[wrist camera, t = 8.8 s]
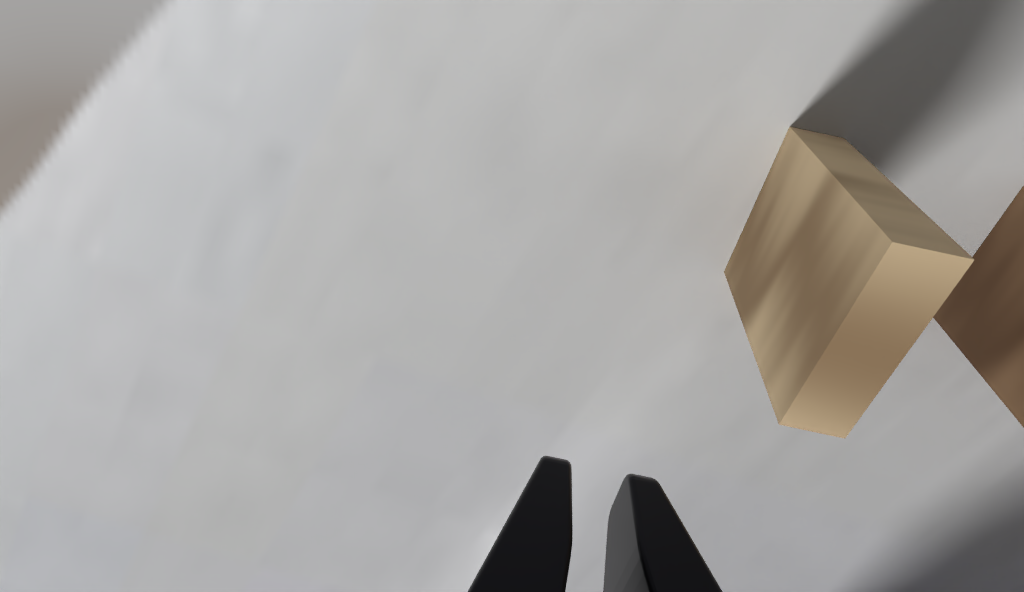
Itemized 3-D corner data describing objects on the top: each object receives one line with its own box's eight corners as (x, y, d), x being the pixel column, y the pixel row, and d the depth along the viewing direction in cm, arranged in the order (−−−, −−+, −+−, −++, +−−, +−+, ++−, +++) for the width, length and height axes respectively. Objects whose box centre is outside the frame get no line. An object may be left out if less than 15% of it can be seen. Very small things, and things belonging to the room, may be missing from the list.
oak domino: (770, 281, 20) (845, 438, 14) (723, 271, 20) (779, 424, 14) (844, 138, 17) (974, 259, 11) (789, 126, 17) (892, 242, 11)
